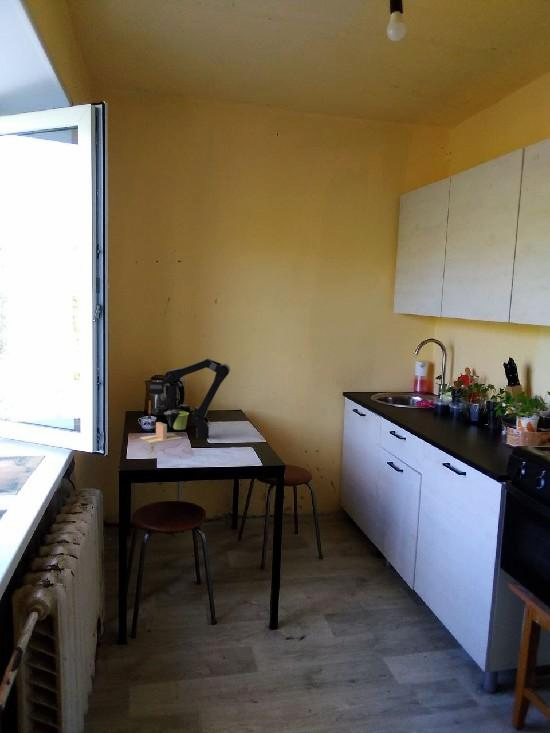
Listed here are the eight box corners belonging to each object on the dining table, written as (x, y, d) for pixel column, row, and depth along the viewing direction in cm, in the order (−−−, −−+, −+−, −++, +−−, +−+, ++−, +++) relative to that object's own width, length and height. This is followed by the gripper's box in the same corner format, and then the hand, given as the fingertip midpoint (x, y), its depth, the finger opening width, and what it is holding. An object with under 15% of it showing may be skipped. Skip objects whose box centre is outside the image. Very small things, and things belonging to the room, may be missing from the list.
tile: (166, 439, 261) (166, 424, 260) (162, 439, 260) (163, 425, 259) (159, 435, 267) (159, 421, 266) (155, 436, 265) (156, 422, 264)
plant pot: (191, 431, 281) (191, 414, 280) (173, 432, 277) (173, 415, 276) (185, 427, 290) (186, 411, 288) (168, 428, 286) (168, 412, 284)
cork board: (183, 439, 264) (183, 437, 264) (151, 444, 253) (151, 443, 253) (170, 434, 273) (170, 432, 273) (139, 439, 262) (139, 437, 262)
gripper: (180, 391, 276) (179, 421, 278) (146, 394, 264) (146, 425, 266) (191, 394, 268) (191, 426, 270) (157, 398, 256) (156, 430, 258)
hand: (171, 427), depth 266 cm, fingers closed
